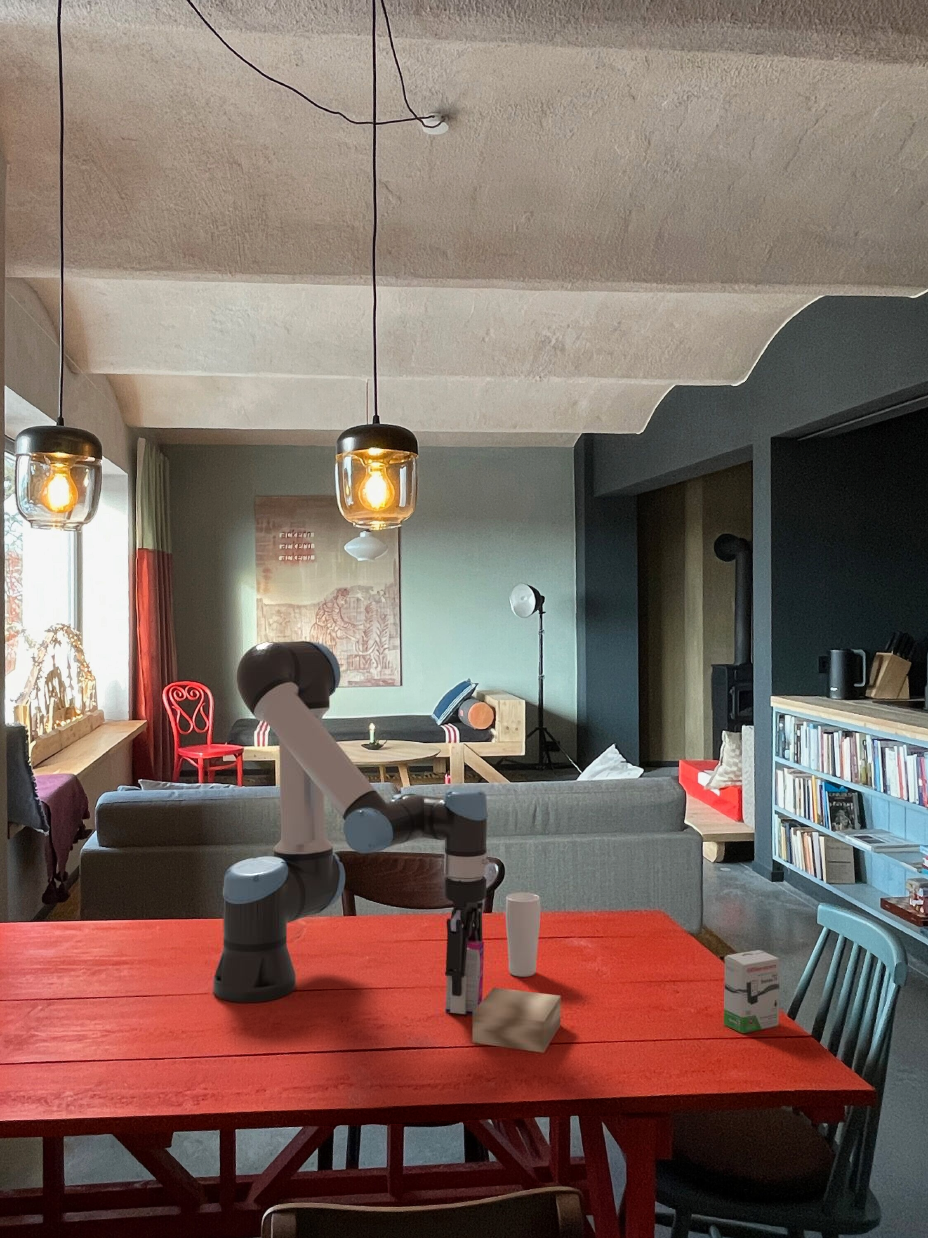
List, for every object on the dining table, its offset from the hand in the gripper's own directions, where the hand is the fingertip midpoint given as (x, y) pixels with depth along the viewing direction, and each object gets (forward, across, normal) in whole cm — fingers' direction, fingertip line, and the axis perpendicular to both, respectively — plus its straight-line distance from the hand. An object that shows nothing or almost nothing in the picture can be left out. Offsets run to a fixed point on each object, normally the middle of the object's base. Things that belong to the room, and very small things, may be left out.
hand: (464, 1005), depth 185 cm
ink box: (+1, +9, -49) cm, 50 cm away
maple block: (0, -8, -12) cm, 14 cm away
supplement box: (+1, 0, 0) cm, 1 cm away
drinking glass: (+1, +21, -5) cm, 22 cm away
